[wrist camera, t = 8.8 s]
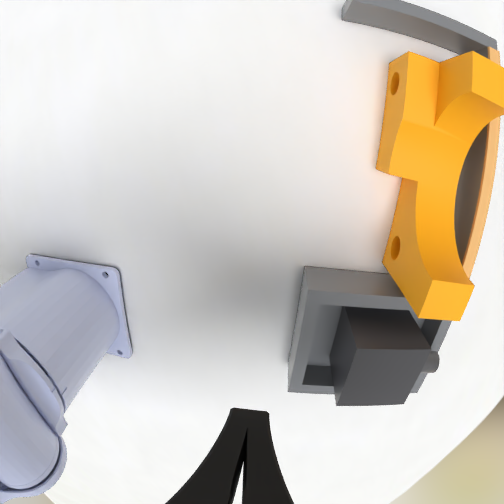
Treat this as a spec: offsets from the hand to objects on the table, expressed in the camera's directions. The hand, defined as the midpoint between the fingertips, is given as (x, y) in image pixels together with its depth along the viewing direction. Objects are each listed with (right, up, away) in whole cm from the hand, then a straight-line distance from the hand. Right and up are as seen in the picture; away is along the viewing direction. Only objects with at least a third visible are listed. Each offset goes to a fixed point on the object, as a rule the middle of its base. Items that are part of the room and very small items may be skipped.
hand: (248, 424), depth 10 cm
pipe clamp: (+9, +12, +6) cm, 16 cm away
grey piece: (+8, +9, +6) cm, 14 cm away
